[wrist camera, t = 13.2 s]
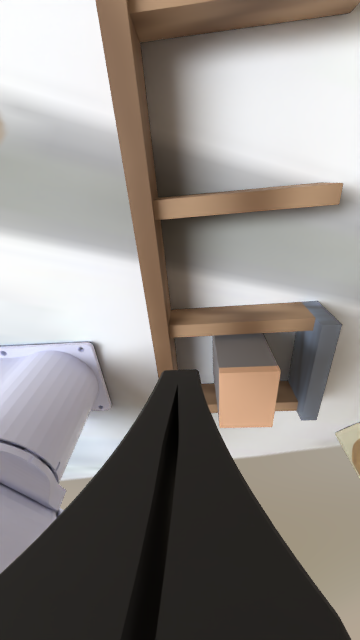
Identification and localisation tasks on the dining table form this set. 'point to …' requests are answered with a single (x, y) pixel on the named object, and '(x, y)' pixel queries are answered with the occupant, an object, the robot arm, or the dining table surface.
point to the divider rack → (148, 210)
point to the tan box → (245, 380)
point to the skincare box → (351, 444)
